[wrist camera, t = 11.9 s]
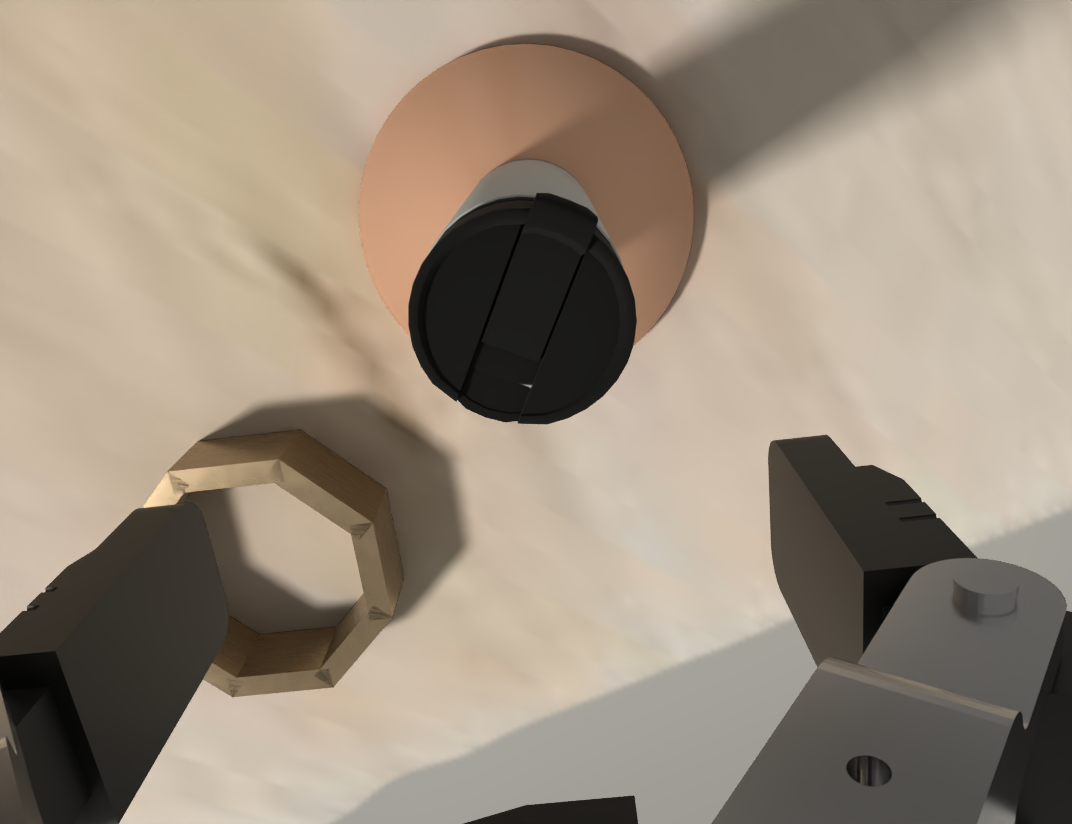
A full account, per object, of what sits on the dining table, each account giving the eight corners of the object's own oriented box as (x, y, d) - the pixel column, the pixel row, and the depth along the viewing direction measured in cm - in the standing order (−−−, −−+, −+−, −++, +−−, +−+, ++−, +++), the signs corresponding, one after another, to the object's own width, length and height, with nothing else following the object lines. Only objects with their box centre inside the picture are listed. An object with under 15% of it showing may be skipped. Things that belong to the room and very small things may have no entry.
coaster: (332, 68, 40) (328, 68, 39) (680, 23, 39) (683, 21, 38) (393, 395, 45) (390, 400, 45) (700, 361, 45) (702, 365, 44)
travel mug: (617, 179, 41) (685, 247, 22) (566, 309, 43) (588, 471, 24) (491, 130, 40) (450, 156, 21) (446, 264, 42) (371, 395, 23)
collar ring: (126, 448, 47) (89, 479, 43) (373, 421, 46) (358, 450, 42) (189, 659, 51) (161, 704, 47) (415, 637, 50) (405, 680, 47)
